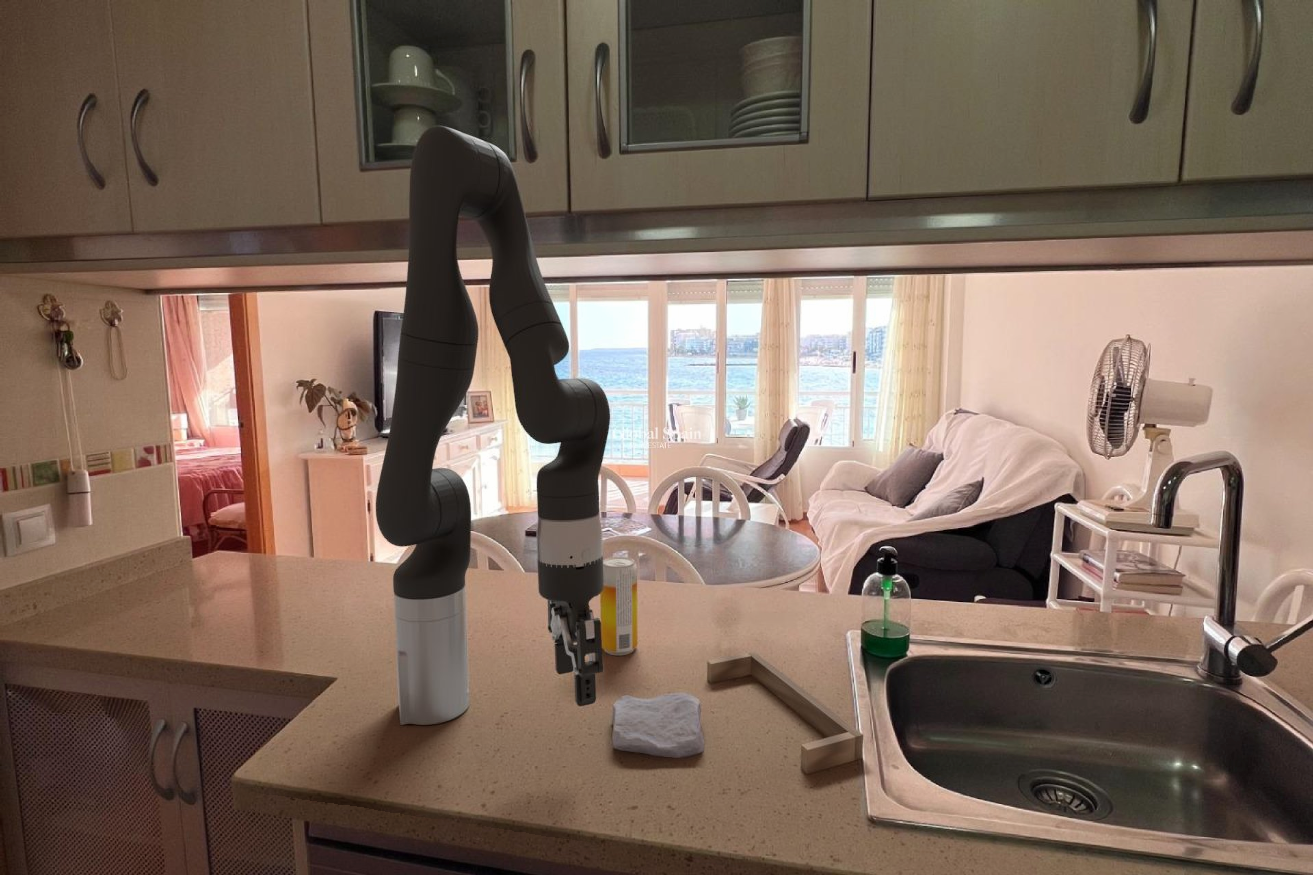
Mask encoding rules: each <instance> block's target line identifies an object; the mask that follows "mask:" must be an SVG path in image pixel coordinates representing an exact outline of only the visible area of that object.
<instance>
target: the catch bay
mask: <svg viewBox="0 0 1313 875" xmlns="http://www.w3.org/2000/svg"><path fill="white" fill-rule="evenodd" d="M706 666H707V667H706V670H707V671H706V672H707V673H706V679H707V680H706V681H708V683H710V684H714V683H718V682H723V681H728V680H732V679H733V680H734V679H737V678H741V677H746V676H752V677H753V678H754V679H755V680H757V681H758V682H759V683H760V684H761V685H763V686H764V687H765V688H766V689H767V690H769V691H770V692H771V693H772V694H773V695H775V696H776V697H777V698H778V699H779V700H781V701H782V702H783V703H784V704H786V705H787V706H788V707H789V708H791V710H793V711H794V712H795V713H796V714H798V715H799V716H800V717H802V719H804V720H805V721H806V722H807V723H808V724H810V725H811V726H812V727H814V728H815V729H816V730H817V731H818V732H820V733H821V734H822V735H823V736H824V738H821V739H818V740H813V741H810V742H806V743H803V744H800V745H801V746H800V770H802V771H803V773H804V774H806V775H809V774H813V773H816V772H819V771H823V770H826V769H830V768H833V767H837V766H840V765H843V764H847V763H850V762H853V761H857V760H861V759H863V754H864V752H863V750H864V734H863V733H862V732H861V731H859V730H858V729H856V728H855V727H854V726H853V725H851V724H850V723H848V722H847V721H846V720H844V719H843V718H842V717H841V716H839V715H838V714H837V713H835V712H834V711H833V710H831V709H830V708H829V707H827V706H826V705H825V704H823V702H821V701H819V700H818V698H815V697H814V696H813V695H812V694H810V693H809V692H808V691H806V690H805V689H803V687H801V686H800V685H798V684H797V682H795V681H793V680H792V679H791V678H789V677H788V676H787V675H785V674H784V673H783V672H782V671H780V670H779V669H777V668H776V667H775V666H774V665H772V664H771V663H770V662H768V661H767V660H766V659H764V658H763V657H762V656H760V654H758V653H756V652H755V651H750V652H745V653H739V654H734V655H729V656H724V657H719V658H715V659H713V658H712V659H710V660H707V663H706Z"/></svg>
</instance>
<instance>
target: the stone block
mask: <svg viewBox="0 0 1313 875" xmlns="http://www.w3.org/2000/svg"><path fill="white" fill-rule="evenodd" d="M701 705H702V704H701V701H700V699H698V698H697V697H695V696H694V695H691V694H689V693H685V692H676V693H675V692H674V693H665V694H664V693H662V694H661V695H658V696H655V697H651V698H643V697H642V698H641V697H640V698H637V697H634V696H633V695H632V696H631V695H627V694H626V695H622V696H621V697H620V698H617V700H616V701H615V702H614V704H612V717H611V724H612V726H613V728H612V737H611V738H612V740H611V741H612V742H611V743H612V745H613V746H612V747H613V749H614V750H619V751H621V752H622V751H624V752H625V751H626V752H631V753H637V754H639V753H642V754H646V755H650V756H659V757H665V758H667V757H668V758H673V759H681V758H685V757H689V756H694V755H698V754H701V753H703V751H704V746H705V739H704V736H703V733H702V725H701V712H702V708H701Z"/></svg>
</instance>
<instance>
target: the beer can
mask: <svg viewBox="0 0 1313 875" xmlns="http://www.w3.org/2000/svg"><path fill="white" fill-rule="evenodd" d="M603 572H604V589H603V591H602V592H601V593H600V594H599V595H600V597H599V599H600V602H599V603H600V606H599V607H600V622H601V640H602V650H604V652H605V653H606V654H608V655H612V656H626V655H629V654H632V653H633V652H634V650H635V649H636V648H637V647H638V567H637V564H636V562H635V560H634V559H633V558H631V557H625V556H614V557H608V558H605V559H603Z"/></svg>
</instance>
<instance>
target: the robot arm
mask: <svg viewBox="0 0 1313 875" xmlns="http://www.w3.org/2000/svg"><path fill="white" fill-rule="evenodd" d="M410 165H411V166H410V172H409V190H408V191H409V193H408V194H409V196H408V197H409V198H408V200H409V201H408V202H409V204H408V205H409V208H408V209H409V211H408V212H409V213H408V215H409V216H408V218H409V219H408V226H409V227H408V258H407V259H408V260H407V273H406V274H407V276H406V285H405V296H404V307H403V314H402V320H401V328H400V335H399V344H398V354H397V369H396V370H397V371H396V381H395V383H396V384H395V389H394V398H393V406H392V411H391V421H390V428H389V433H388V438H387V443H386V448H385V453H384V457H383V461H382V466H381V470H380V475H379V478H378V479H379V480H378V484H377V491H376V497H375V516H376V522H377V526H378V528H379V531H380V533H381V535H382V537H383V538H384V539H385V540H386V542H388V543H389V544H391V545H394V546H396V547H400V548H401V547H402V548H403V547H411V546H415V547H414V548H413V551H412V552H411V554H410V555H409V556H408V557H407V558H406V559H405V560H404V561H403V562H402V563H401V564H400V565H398V567H397V568H396V569H395V571H394V572H393V575H392V576H393V577H392V583H393V584H392V586H393V587H392V588H393V598H394V599H393V601H394V603H393V604H394V622H395V623H394V624H395V626H394V627H395V654H396V655H395V656H396V660H395V661H396V677H397V679H396V680H397V696H398V697H397V698H398V701H397V702H398V710H399V711H398V712H399V724H400V725H402V726H403V725H407V724H410V725H411V724H413V725H417V726H418V725H419V726H427V725H428V726H429V725H436V724H441V723H445V722H448V721H451V720H453V719H455V718H457V717H459V716H461V715H462V714H463V713H464V712H466V711H467V709H468V708H469V706H470V685H469V684H470V683H469V682H470V680H469V679H470V678H469V676H470V675H469V656H468V654H469V651H468V625H467V623H468V622H467V595H466V594H467V592H466V573H467V570H468V568H469V565H470V561H471V543H472V542H471V540H472V539H471V538H472V504H471V499H470V493H469V491H468V487H467V485H466V483H465V481H464V479H463V478H462V477H461V476H460V475H459V473H457V472H456V471H454V470H452V469H450V468H445V467H436V468H433V466H434V460H435V454H436V452H437V449H438V445H439V443H440V440H441V437H442V435H443V434H444V431H445V429H447V426H448V425H449V423H450V422H451V420H452V418H453V417H454V415H455V413H456V412H457V410H458V408H459V407H460V405H461V404H462V402H463V400H464V398H465V397H466V395H467V392H468V390H469V389H470V386H471V384H472V381H473V376H474V373H475V367H476V366H475V365H476V358H477V350H478V343H479V325H478V319H477V318H478V317H477V314H476V312H475V309H474V306H473V303H472V300H471V297H470V295H469V292H468V289H467V286H466V284H465V283H464V280H463V276H462V273H461V270H460V269H461V268H460V266H459V261H458V250H457V248H458V246H457V245H458V226H459V225H458V224H459V217H463V218H467V219H470V220H474V221H476V222H477V224H478V226H479V227H480V229H481V231H482V232H483V234H484V237H486V240H487V242H488V244H489V247H490V251H491V258H492V259H491V260H492V263H491V272H490V273H491V274H490V279H489V287H488V289H489V290H488V299H489V300H488V302H489V306H490V308H489V309H490V310H491V315H492V318H493V321H494V323H495V325H496V328H497V330H498V333H499V336H500V338H501V341H502V343H503V346H504V347H505V349H506V352H507V354H508V357H509V363H510V371H511V381H512V387H513V396H514V398H513V399H514V405H515V412H516V415H517V419H518V422H519V423H520V426H521V427H522V429H523V430H524V432H526V434H528V436H529V437H530V438H531V439H533V440H534V441H536V442H538V443H539V444H545V445H546V444H547V445H552V444H560V445H559V449H558V451H557V456H556V457H555V458H554V459H553V460H552V461H549V462H548V463H547V464H545V465H543V466H541V467H540V469H539V470H538V472H537V475H536V501H537V504H536V506H537V526H536V558H537V559H536V560H537V580H538V581H537V582H538V583H537V586H538V593H539V595H540V596H541V597H542V598H543V599H545V600H547V630H548V632H549V633H550V634H551V640H552V642H553V644H554V662H555V665H554V668H555V671H556V672H557V674H558V675H564V674H569V673H572V672H573V673H574V675H573V676H574V697H575V698H574V701H575V703H576V705H577V706H578V707H584V706H588V705H593V704H594V703H595V702H596V701H597V694H596V693H597V691H596V690H597V689H596V688H597V687H596V686H597V685H596V674H600V673H603V672H604V663H603V648H602V640H601V618H599V617H594V612H593V609H590V605H589V604H590V601H591V600H592V599H594V598H595V597H598V596H599V595H600V593H601V592H602V591H603V589H604V572H603V560H604V547H603V546H604V545H603V544H604V543H603V541H604V540H603V530H602V528H603V527H602V523H601V522H602V521H601V515H600V491H599V489H600V487H599V477H600V476H599V475H600V472H601V468H602V465H603V461H604V455H605V450H606V446H607V441H608V438H609V437H608V436H609V431H610V424H611V410H610V404H609V400H608V398H607V397H608V396H606V392H605V391H604V390H603V388H602V387H601V386H600V384H599V383H597V382H595V381H594V380H592V379H589V378H580V377H579V378H558V375H557V372H556V368H555V365H557V364H559V363H560V362H562V361H563V360H564V359H565V358H566V357H567V355H568V354H569V350H570V342H569V339H568V335H567V333H566V330H565V328H564V326H563V322H562V321H561V319H560V316H559V315H558V312H557V309H556V307H555V305H554V302H553V300H552V298H551V295H550V293H549V291H548V289H547V288H548V287H547V286H546V283H545V280H544V278H543V275H542V272H541V270H540V266H539V263H538V259H537V255H536V252H535V247H534V243H533V239H532V235H531V232H530V228H529V224H528V220H527V217H526V212H525V208H524V204H523V200H522V195H521V192H520V186H519V184H518V183H519V182H518V179H517V177H516V173H515V171H514V168H513V164H512V163H511V161H510V159H509V157H508V156H507V154H506V153H505V152H504V151H503V150H501V149H500V148H499V147H498V146H496V145H494V144H493V143H490V142H488V141H486V140H482V139H480V138H478V137H475V136H472V135H470V134H467V133H464V132H462V131H459V130H458V129H457V130H456V129H454V128H451V127H448V126H444V125H434V126H431V127H429V128H427V129H426V130H424V132H422V134H421V135H420V136H419V139H418V140H417V142H416V145H415V148H414V150H413V154H412V158H411V164H410ZM575 643H576V644H575ZM587 655H588V661H586V656H587Z"/></svg>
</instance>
